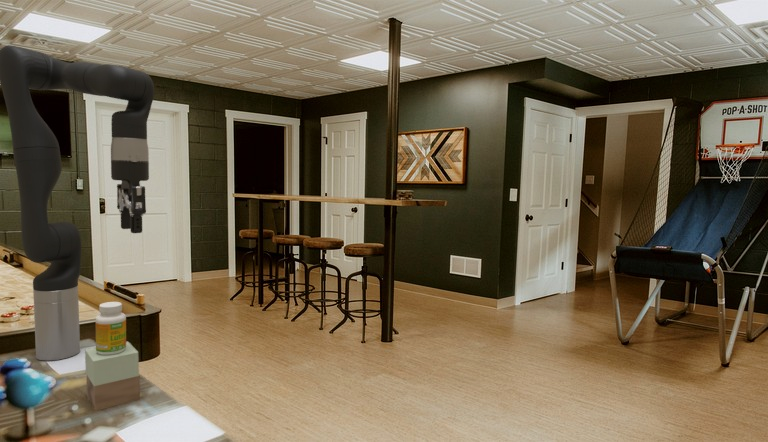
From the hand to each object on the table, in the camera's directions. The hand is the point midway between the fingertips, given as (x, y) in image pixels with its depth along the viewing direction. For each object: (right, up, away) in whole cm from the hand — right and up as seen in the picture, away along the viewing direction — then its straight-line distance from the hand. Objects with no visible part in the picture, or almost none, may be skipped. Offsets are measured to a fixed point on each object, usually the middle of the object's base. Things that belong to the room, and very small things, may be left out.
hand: (131, 230), depth 110 cm
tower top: (+2, -29, -11) cm, 31 cm away
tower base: (+2, -34, -10) cm, 36 cm away
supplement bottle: (+2, -25, -11) cm, 27 cm away
